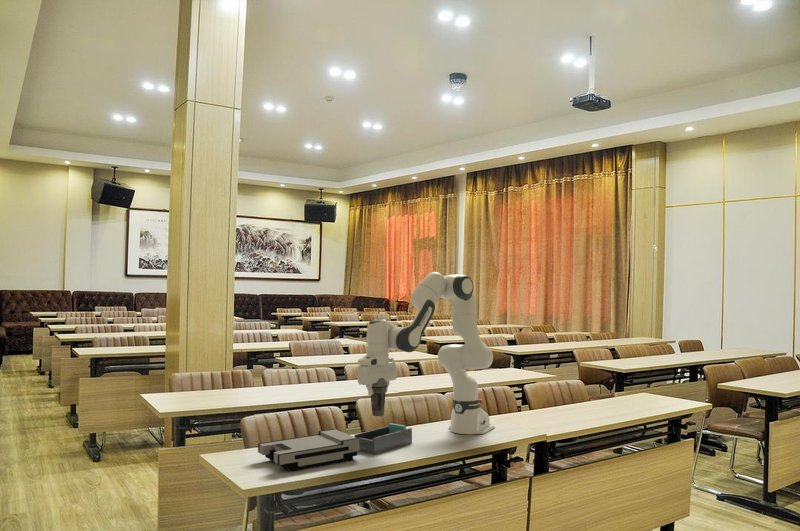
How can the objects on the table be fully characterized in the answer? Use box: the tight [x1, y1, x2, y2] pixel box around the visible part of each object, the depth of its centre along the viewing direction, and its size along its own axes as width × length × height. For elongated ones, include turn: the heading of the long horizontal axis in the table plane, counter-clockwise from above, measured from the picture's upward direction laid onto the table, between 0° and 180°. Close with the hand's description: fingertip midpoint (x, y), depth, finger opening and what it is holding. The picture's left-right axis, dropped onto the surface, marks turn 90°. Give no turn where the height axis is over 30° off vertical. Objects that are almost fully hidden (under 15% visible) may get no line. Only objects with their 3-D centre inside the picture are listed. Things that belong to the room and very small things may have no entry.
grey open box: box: [353, 425, 413, 455], centre depth 246 cm, size 23×11×6 cm, turn 139°
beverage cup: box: [370, 378, 387, 417], centre depth 242 cm, size 7×7×20 cm
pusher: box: [388, 422, 407, 434], centre depth 253 cm, size 2×8×6 cm, turn 49°
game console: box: [257, 428, 360, 473], centre depth 226 cm, size 21×32×8 cm, turn 124°
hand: (378, 393), depth 242 cm, fingers closed on beverage cup, 7 cm apart
